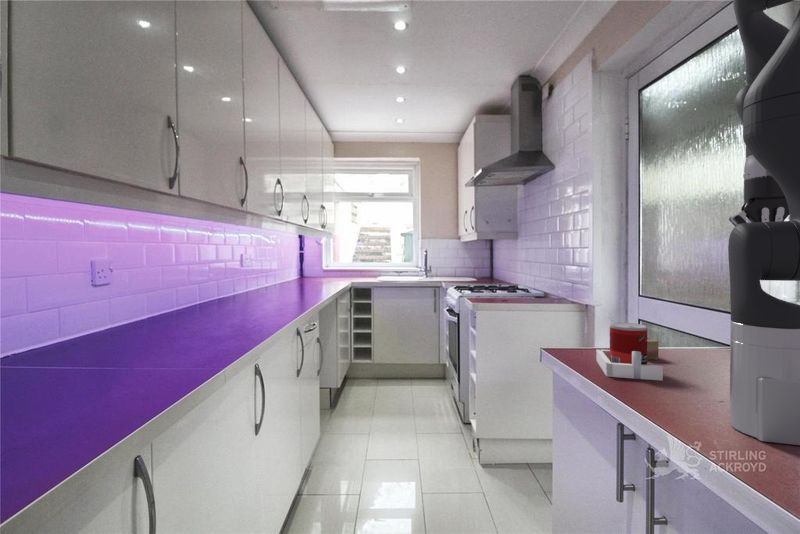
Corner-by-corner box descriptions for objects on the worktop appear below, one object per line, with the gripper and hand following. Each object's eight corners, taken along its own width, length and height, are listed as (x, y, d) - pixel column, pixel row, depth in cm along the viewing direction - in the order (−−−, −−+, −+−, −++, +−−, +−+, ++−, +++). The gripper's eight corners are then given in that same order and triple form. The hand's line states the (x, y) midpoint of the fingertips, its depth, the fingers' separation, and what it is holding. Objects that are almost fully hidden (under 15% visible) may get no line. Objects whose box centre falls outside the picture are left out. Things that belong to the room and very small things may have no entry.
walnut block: (658, 359, 103) (658, 341, 103) (640, 360, 103) (640, 341, 103) (645, 354, 108) (645, 337, 108) (628, 355, 108) (628, 337, 108)
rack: (663, 381, 86) (663, 354, 86) (606, 376, 89) (606, 351, 89) (643, 362, 100) (643, 340, 100) (595, 359, 104) (595, 337, 103)
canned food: (646, 376, 89) (646, 329, 89) (607, 370, 94) (607, 326, 94) (648, 368, 96) (648, 324, 95) (611, 363, 100) (611, 321, 100)
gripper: (738, 175, 79) (737, 259, 80) (821, 170, 75) (820, 258, 76) (721, 182, 87) (720, 259, 87) (795, 177, 82) (794, 258, 83)
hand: (766, 258), depth 81 cm, fingers closed
